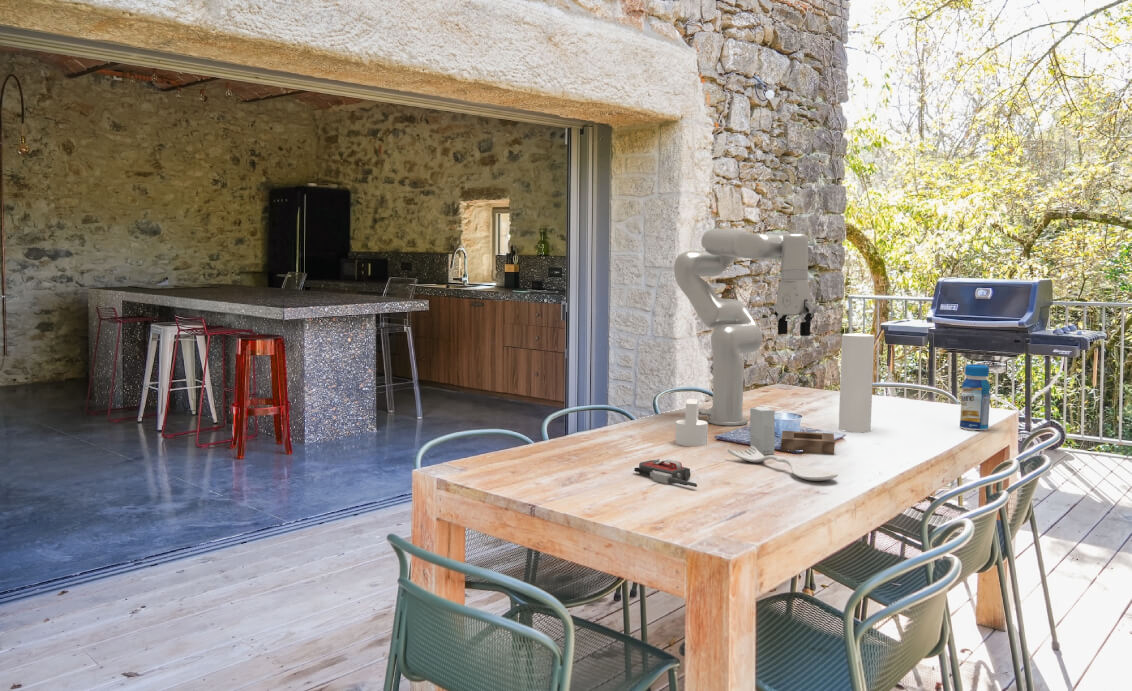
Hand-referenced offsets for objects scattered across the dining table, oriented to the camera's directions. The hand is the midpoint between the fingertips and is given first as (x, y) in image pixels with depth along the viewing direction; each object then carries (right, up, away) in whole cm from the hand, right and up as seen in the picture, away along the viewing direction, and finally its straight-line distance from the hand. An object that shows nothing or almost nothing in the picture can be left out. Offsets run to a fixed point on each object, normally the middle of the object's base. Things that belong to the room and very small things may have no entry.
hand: (793, 334), depth 259 cm
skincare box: (-14, -32, -19) cm, 40 cm away
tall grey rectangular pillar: (+23, -29, +15) cm, 40 cm away
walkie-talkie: (-42, -36, -49) cm, 74 cm away
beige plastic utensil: (-13, -35, -39) cm, 54 cm away
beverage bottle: (+61, -30, +18) cm, 70 cm away
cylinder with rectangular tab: (-31, -31, -7) cm, 44 cm away
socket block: (0, -32, -13) cm, 34 cm away
